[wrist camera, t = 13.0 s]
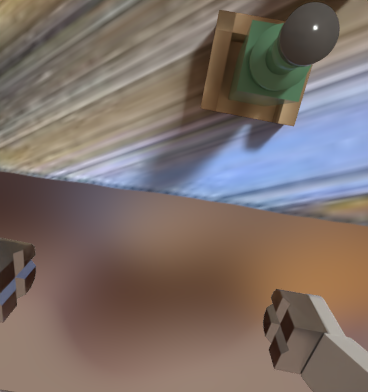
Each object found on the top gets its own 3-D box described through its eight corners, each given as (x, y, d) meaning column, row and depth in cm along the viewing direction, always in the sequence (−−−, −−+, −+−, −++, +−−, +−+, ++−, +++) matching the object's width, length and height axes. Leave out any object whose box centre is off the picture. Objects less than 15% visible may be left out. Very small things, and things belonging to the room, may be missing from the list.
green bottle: (227, 99, 38) (247, 78, 15) (236, 58, 36) (274, -35, 13) (264, 106, 38) (343, 96, 15) (275, 65, 36) (382, -18, 13)
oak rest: (202, 108, 40) (200, 108, 35) (218, 23, 36) (219, 9, 31) (284, 124, 39) (294, 126, 34) (308, 39, 36) (323, 27, 31)
